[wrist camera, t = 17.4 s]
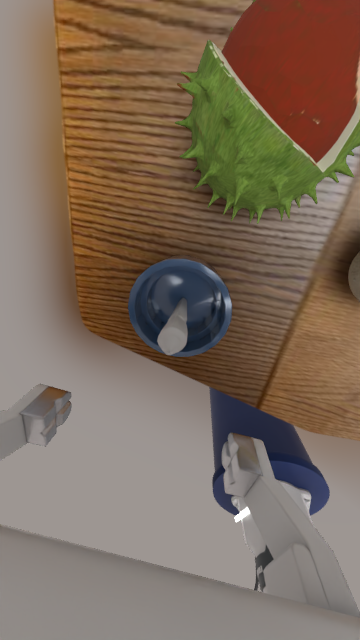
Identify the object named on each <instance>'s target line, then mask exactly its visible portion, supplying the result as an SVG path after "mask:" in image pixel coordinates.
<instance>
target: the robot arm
mask: <svg viewBox="0 0 360 640" xmlns="http://www.w3.org/2000/svg"><path fill="white" fill-rule="evenodd" d="M70 398H71V392H68V391H64V390H61V389H57V388H54V387H50V386H47V385H43V384H39V385H37V386H35V387H34V388H33V389H32V390H30V391H29V392H28V393H27V394H26V395H25V396H23V397H22V399H20V400H19V401H18V402H16V403H15V404H14V405H13V406H12V407H11V408H10V409H8V410H7V411H5V410H3V411H0V460H2V459H4V458H5V457H7V456H8V455H10V454H11V453H13V452H15V451H16V450H18V449H19V448H21V447H22V446H23V445H25V444H27V443H31V444H36V445H40V446H46V445H47V444H48V443H49V441H50V440H51V439H52V437H53V436H54V435H55V434H56V428H57V427H58V426H60V425H62V424H63V423H64V422H65V420H66V419H67V418H68V415H69V413H70V411H71V402H70V401H69V399H70ZM222 465H223V466H224V468H225V470H226V471H225V473H224V475H223V477H224V487H225V493H228V494H231V495H233V496H231V500H232V503H233V504H234V506H235V507H236V508H237V509H238V510H239V511H240V513H239V514H238V515H237V516H236V517H235V522H237V521H239V520H240V519H241V522H242V527H243V533H244V539H245V542H246V545H247V546H248V547H249V549H250V550H251V551H252V552H253V554H254V555H255V562H256V584H255V589H254V590H251V589H248V588H244V587H240V586H236V585H232V584H229V583H225V582H221V581H217V580H213V579H209V578H205V577H202V576H198V575H194V574H190V573H186V572H182V571H178V570H175V569H171V568H167V567H163V566H159V565H156V564H152V563H148V562H144V561H140V560H136V559H132V558H129V557H125V556H121V555H117V554H113V553H109V552H106V551H102V550H98V549H94V548H90V547H86V546H82V545H79V544H75V543H70V542H67V541H63V540H59V539H56V538H52V537H48V536H44V535H40V534H36V533H32V532H29V531H25V530H21V529H17V528H13V527H10V526H6V525H2V524H0V640H360V612H359V610H358V608H357V605H356V603H355V601H354V598H353V596H352V594H351V591H350V589H349V587H348V584H347V582H346V580H345V578H344V575H343V573H342V570H341V568H340V566H339V563H338V561H337V559H336V557H335V554H334V552H333V550H332V549H331V548H330V546H329V545H328V544H327V543H326V541H325V540H324V539H323V537H322V536H321V535H320V534H319V532H318V531H317V530H316V528H315V527H314V525H313V522H312V519H311V517H310V514H309V508H310V502H311V495H310V492H309V491H308V490H305V489H301V488H297V487H295V486H293V485H292V484H290V483H287V482H285V481H281V480H275V477H274V474H273V471H272V468H271V465H270V462H269V459H268V455H267V452H266V449H265V446H264V443H263V441H262V440H259V439H255V438H251V437H248V436H244V435H240V434H235V433H230V434H229V436H228V441H227V442H225V444H224V446H223V449H222ZM258 582H259V584H260V589H261V591H262V592H259V591H257V588H258Z"/></svg>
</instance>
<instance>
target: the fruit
mask: <svg viewBox="0 0 360 640" xmlns="http://www.w3.org/2000/svg"><path fill="white" fill-rule="evenodd" d="M348 280H349V287H350V288H351V291H352V293H353V294H354V296H355V297H356V298H357V300H358V301H359V302H360V251H359V253H358V254H357V255H356V256H355V258H354V259H353V261H352V263H351V265H350V268H349V274H348Z"/></svg>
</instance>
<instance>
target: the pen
mask: <svg viewBox="0 0 360 640" xmlns="http://www.w3.org/2000/svg"><path fill="white" fill-rule="evenodd" d="M186 321H187V300H186V299H185V298H182V299H181V300H180V301H179V302H178V304H177V306H176V308H175V310H174V312H173V313H172V315H171V317H170V318H169V319H168V322H167V324H166V325H165V326H164V328H163V329H162V330H161V332H160V334H159V336H158V340H157V342H158V344H159V346H160V348H161V349H162V351H163V352H164V353H165V354H167V355H172V354H175V353H177V352H179V351H181V350H182V349H183V348H184V347H185V345H186V342H187V335H188V331H187V325H186Z"/></svg>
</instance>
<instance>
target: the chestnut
mask: <svg viewBox="0 0 360 640" xmlns="http://www.w3.org/2000/svg"><path fill="white" fill-rule="evenodd" d="M181 73H182V74H183V75H184V76H185V77H186V78H187V79H188V80H189V81H190V83H186V84H181V83H177V85H178V86H179V87H181V88H182V89H183V90H185V91H186V92H188V93H189V94H190V95H192V96H193V102H192V111H191V113H190V115H189V116H188V117H187V118H186V119H184V120H183V121H178V122H175V124H178V125H181V126H185V127H186V128H189V129H190V130H191V132H192V145H191V147H190V148H189V149H188V150H187V151H186V152H185V153H184V154H182V155H181V156H180V157H183V159H184V158H196V159H197V163H198V165H197V166H196V168H195V169H194V171H196V170H198V169H200V171H201V179H200V181H199V183H198V184H197V185H196V186H195V188H197V187H199V186H201V185H203V184H209V186H210V187H211V188H212V189H213V196H212V198H211V200H210V203H209V205H208V207H209V206H210V205H211V204H212V203H213V202H214V201H215V200H216V199H218V198H224V199H225V200H226V201H227V203H226V208H225V210H224V213H223V214H225V212H226V211H227V209H228V208H229V210H230V208H231V207H232V206H233V216H232V219H231V221H232V220H233V218H234V217H235V215H236V213H237V212H238V210H239V209H241V208H246V209H248V210H249V213H250V221H249V223H250V222H251V220H252V218H253V216H254V214H255V212H257V216H258V220H257V224H258V223H259V220H260V218H261V215H262V213H263V210H264V209H268V208H277V209H278V210H279V212H280V214H281V221H282V217H283V213H284V210H285V212H286V214H287V216H288V218H290V208H291V202H292V200H294V199H295V201H296V203H297V205H298V207H299V208H300V199H301V196H302V195H304V194H307V195H309V196H310V197H312V198H313V200H314V201H315V203H316V204H317V197H316V190H315V188H316V185H317V184H318V183H319V182H320V181H321V180H322V179H324V178H325V177H330V178H332V179H333V180H335V181H336V182H337V183H338V182H339V181H338V179H337V177H336V174H335V172H339V173H342V174H345V175H348V176H351V177H354V175H353V174H352V172H351V170H350V169H349V167H348V165H347V164H346V157H347V154H348V155H352V156H354V154H353V152H352V151H351V150H352V149H354V148H355V147H357V146H360V0H254V1H253V3H252V5H251V6H250V7H249V8H248V9H247V10H246V11H245V12H244V13H243V15H242V16H241V18H240V19H239V21H238V22H237V24H236V25H235V27H234V28H233V29H232V27H231V33H230V35H229V38H228V40H227V42H226V44H225V46H224V48H223V50H222V51H221V50H220V49H219V48H218V47H216V45H215V44H214V43H212V42H211V41H210V40H208V41H207V44H206V47H205V50H204V53H203V56H202V58H201V61H200V64H199V67H198V71H197V72H196V73H186V72H182V71H181ZM194 171H193V172H194ZM195 188H194V189H195Z"/></svg>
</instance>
